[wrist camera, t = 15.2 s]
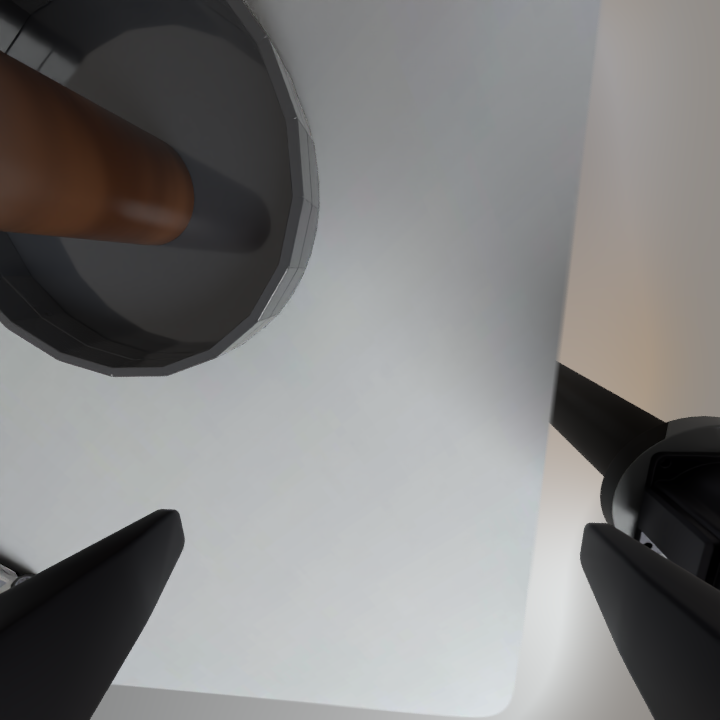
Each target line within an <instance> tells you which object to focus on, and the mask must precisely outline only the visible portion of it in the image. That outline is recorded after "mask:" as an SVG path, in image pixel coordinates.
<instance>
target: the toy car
mask: <svg viewBox="0 0 720 720" xmlns="http://www.w3.org/2000/svg"><path fill="white" fill-rule="evenodd" d="M33 576H34V575H32V574H25V575H22V576H20V577H18V576H17V575H16V573H15V572H14V571H12V570H11V569H9V568H7V567H5V566H3V565H1V564H0V594H1V593H2V592H4V591H6V590H8V589H10V588H12V587H14V586H16V585H17V584H19V583H21V582H23V581H25V580H27V579H29V578H31V577H33Z"/></svg>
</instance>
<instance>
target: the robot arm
mask: <svg viewBox="0 0 720 720" xmlns="http://www.w3.org/2000/svg"><path fill="white" fill-rule="evenodd" d="M663 460H665V461H664V462H663V463H661V462H662V461H663ZM184 542H185V538H184V533H183V528H182V523H181V519H180V514H179V513H178V511H177V510H172V509H160V510H157V511H155V512H153V513H151V514H149V515H147V516H145V517H144V518H142V519H140V520H138V521H136V522H134V523H132V524H130V525H129V526H127V527H125V528H123V529H121V530H119V531H117V532H115V533H113V534H112V535H110V536H108V537H106V538H104V539H102V540H100V541H98V542H97V543H95V544H93V545H91V546H89V547H87V548H85V549H83V550H81V551H80V552H78V553H76V554H74V555H72V556H70V557H68V558H66V559H65V560H63V561H61V562H59V563H57V564H55V565H53V566H51V567H49V568H48V569H46V570H44V571H42V572H40V573H38V574H36V575H34V576H33V577H31V578H29V579H27V580H25V581H23V582H21V583H19V584H17V585H16V586H14V587H12V588H10V589H8V590H6V591H4V592H2V593H1V594H0V720H90V718H91V717H92V715H93V713H94V712H95V710H96V708H97V707H98V705H99V703H100V702H101V700H102V698H103V696H104V694H105V693H106V691H107V690H108V688H109V686H110V685H111V683H112V681H113V680H114V678H115V676H116V674H117V673H118V671H119V669H120V668H121V666H122V664H123V663H124V661H125V659H126V657H127V656H128V654H129V652H130V651H131V649H132V647H133V646H134V644H135V642H136V641H137V639H138V637H139V635H140V634H141V632H142V630H143V628H144V627H145V625H146V623H147V621H148V619H149V617H150V615H151V614H152V612H153V610H154V608H155V606H156V604H157V602H158V599H159V597H160V595H161V593H162V591H163V589H164V587H165V585H166V583H167V581H168V579H169V577H170V575H171V573H172V571H173V569H174V567H175V565H176V563H177V560H178V558H179V556H180V554H181V552H182V550H183V547H184ZM660 554H664V555H665V556H666V557H667V558H665V557H663V556H662V555H660ZM580 560H581V564H582V568H583V570H584V572H585V575H586V577H587V579H588V582H589V584H590V586H591V589H592V591H593V593H594V596H595V598H596V600H597V603H598V605H599V607H600V610H601V612H602V614H603V617H604V619H605V621H606V624H607V626H608V628H609V631H610V633H611V635H612V638H613V640H614V642H615V644H616V646H617V648H618V651H619V653H620V655H621V656H622V659H623V661H624V663H625V665H626V667H627V669H628V671H629V673H630V674H631V676H632V678H633V680H634V682H635V684H636V686H637V687H638V689H639V691H640V693H641V695H642V697H643V699H644V701H645V702H646V704H647V706H648V708H649V709H650V712H651V714H652V716H653V717H654V719H655V720H720V452H668V451H661V452H657V453H655V454H654V455H653V456H652V457H651V459H650V464H649V469H648V474H647V479H646V484H645V489H644V493H643V498H642V503H641V508H640V513H639V518H638V522H637V528H636V533H635V538H632V537H630V536H629V535H627V534H625V533H624V532H622V531H621V530H619V529H617V528H616V527H614V526H612V525H610V524H607V523H588V524H587V525H586V526H585V528H584V533H583V540H582V546H581V552H580Z"/></svg>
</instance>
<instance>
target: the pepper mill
mask: <svg viewBox="0 0 720 720" xmlns="http://www.w3.org/2000/svg"><path fill="white" fill-rule="evenodd" d="M193 208H194V188H193V184H192V180H191V177H190V174H189V171H188V169H187V167H186V165H185V164H184V162H183V160H182V159H181V157H180V156H179V155H178V153H177V152H176V151H175V150H174V149H173V148H172V147H170V146H169V145H168V144H167V143H165V142H164V141H162V140H161V139H159V138H157V137H155V136H153V135H152V134H150V133H148V132H146V131H144V130H143V129H141V128H139V127H137V126H135V125H134V124H132V123H130V122H128V121H126V120H125V119H123V118H121V117H119V116H117V115H116V114H114V113H112V112H110V111H108V110H107V109H105V108H103V107H101V106H99V105H98V104H96V103H94V102H92V101H90V100H89V99H87V98H85V97H83V96H81V95H80V94H78V93H76V92H74V91H72V90H70V89H69V88H67V87H65V86H63V85H61V84H60V83H58V82H56V81H54V80H52V79H51V78H49V77H47V76H45V75H43V74H42V73H40V72H38V71H36V70H34V69H33V68H31V67H29V66H27V65H25V64H24V63H22V62H20V61H18V60H16V59H15V58H13V57H11V56H9V55H7V54H6V53H4V52H2V51H0V231H3V232H14V233H24V234H35V235H45V236H56V237H66V238H77V239H87V240H98V241H108V242H119V243H129V244H140V245H155V246H156V245H162V244H166V243H168V242H170V241H172V240H174V239H175V238H177V237H178V236H179V235H180V234H181V233H182V232H183V231H184V230H185V228H186V227H187V225H188V223H189V221H190V219H191V216H192V213H193Z"/></svg>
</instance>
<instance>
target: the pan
mask: <svg viewBox="0 0 720 720" xmlns="http://www.w3.org/2000/svg"><path fill="white" fill-rule="evenodd" d="M0 51H2V52H4V53H6V54H7V55H9V56H11V57H13V58H15V59H16V60H18V61H20V62H22V63H24V64H25V65H27V66H29V67H31V68H33V69H34V70H36V71H38V72H40V73H42V74H43V75H45V76H47V77H49V78H51V79H52V80H54V81H56V82H58V83H60V84H61V85H63V86H65V87H67V88H69V89H70V90H72V91H74V92H76V93H78V94H80V95H81V96H83V97H85V98H87V99H89V100H90V101H92V102H94V103H96V104H98V105H99V106H101V107H103V108H105V109H107V110H108V111H110V112H112V113H114V114H116V115H117V116H119V117H121V118H123V119H125V120H126V121H128V122H130V123H132V124H134V125H135V126H137V127H139V128H141V129H143V130H144V131H146V132H148V133H150V134H152V135H153V136H155V137H157V138H159V139H161V140H162V141H164V142H165V143H167V144H168V145H169V146H170V147H172V148H173V149H174V150H175V151H176V152H177V153H178V155H179V156H180V157H181V159H182V160H183V162H184V164H185V165H186V167H187V169H188V171H189V174H190V177H191V180H192V184H193V188H194V208H193V213H192V216H191V219H190V221H189V223H188V225H187V227H186V228H185V230H184V231H183V232H182V233H181V234H180V235H179V236H178V237H177V238H175V239H174V240H172V241H170V242H168V243H166V244H162V245H156V246H155V245H140V244H129V243H119V242H108V241H98V240H87V239H77V238H66V237H56V236H45V235H35V234H24V233H14V232H3V231H0V322H1V323H2V324H3V325H4V326H5V327H6V328H8V329H9V330H10V331H12V332H13V333H15V334H17V335H18V336H20V337H21V338H23V339H25V340H26V341H28V342H30V343H31V344H33V345H34V346H36V347H38V348H39V349H41V350H42V351H44V352H46V353H47V354H49V355H50V356H52V357H54V358H55V359H57V360H59V361H62V362H65V363H68V364H72V365H75V366H78V367H82V368H85V369H88V370H91V371H95V372H98V373H101V374H105V375H108V376H113V377H144V376H168V375H171V374H174V373H177V372H179V371H182V370H185V369H188V368H190V367H193V366H196V365H199V364H201V363H204V362H207V361H209V360H212V359H215V358H217V357H219V356H221V355H223V354H225V353H227V352H229V351H231V350H233V349H235V348H237V347H239V346H241V345H242V344H244V343H245V342H246V341H247V340H249V339H250V338H251V337H252V336H254V335H255V334H256V333H258V332H259V331H260V330H261V329H263V328H264V327H265V326H267V325H268V324H269V323H270V322H271V320H272V319H273V318H275V317H276V316H277V315H278V314H279V313H280V311H281V310H282V308H283V307H284V306H285V304H286V303H287V302H288V300H289V299H290V297H291V296H292V295H293V293H294V291H295V289H296V287H297V286H298V284H299V282H300V280H301V278H302V276H303V274H304V271H305V269H306V266H307V263H308V261H309V258H310V256H311V252H312V248H313V244H314V240H315V235H316V231H317V223H318V214H319V175H318V167H317V159H316V153H315V145H314V141H313V138H312V136H311V132H310V128H309V125H308V122H307V120H306V117H305V114H304V112H303V109H302V106H301V104H300V101H299V99H298V96H297V94H296V91H295V88H294V85H293V82H292V80H291V78H290V76H289V74H288V72H287V70H286V68H285V67H284V65H283V63H282V61H281V59H280V57H279V55H278V54H277V52H276V50H275V48H274V46H273V44H272V42H271V41H270V39H269V37H268V35H267V34H266V32H265V31H264V29H263V28H262V27H261V25H260V24H259V22H258V21H257V20H256V18H255V17H254V15H253V14H252V13H251V11H250V10H249V8H248V7H247V6H246V4H245V3H244V2H243V0H0Z"/></svg>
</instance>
